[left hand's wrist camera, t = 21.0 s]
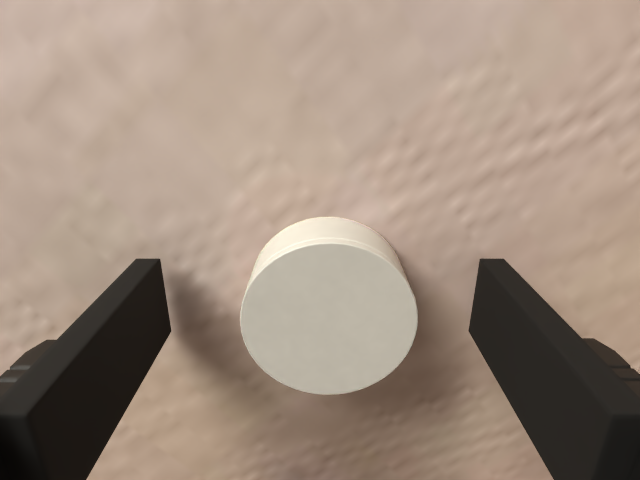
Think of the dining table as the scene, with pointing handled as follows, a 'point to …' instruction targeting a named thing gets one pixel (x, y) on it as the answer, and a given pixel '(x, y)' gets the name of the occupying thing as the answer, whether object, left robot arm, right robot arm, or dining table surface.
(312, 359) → the lid
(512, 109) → the dining table surface
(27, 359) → the left robot arm
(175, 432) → the dining table surface
